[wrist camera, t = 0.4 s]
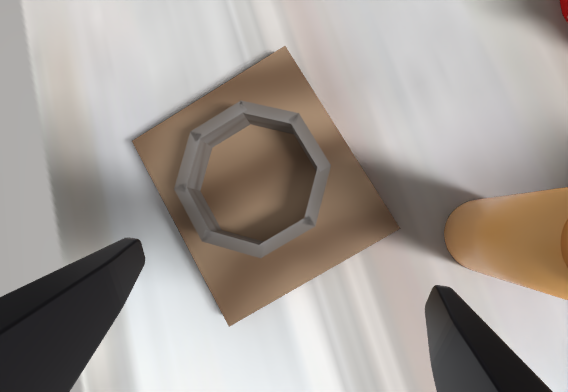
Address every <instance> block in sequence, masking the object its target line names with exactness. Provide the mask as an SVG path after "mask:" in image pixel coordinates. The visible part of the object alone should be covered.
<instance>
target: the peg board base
mask: <svg viewBox="0 0 568 392" xmlns="http://www.w3.org/2000/svg"><path fill="white" fill-rule="evenodd" d="M132 142H133V144H134V146H135V148H136V150H137V152H138V154H139V156H140V157H141V159H142V161H143V163H144V165H145V167H146V169H147V171H148V173H149V175H150V177H151V178H152V180H153V182H154V184H155V186H156V188H157V190H158V192H159V194H160V196H161V198H162V199H163V201H164V203H165V205H166V207H167V209H168V211H169V213H170V215H171V217H172V219H173V221H174V222H175V224H176V226H177V228H178V230H179V232H180V234H181V236H182V238H183V240H184V242H185V243H186V245H187V247H188V249H189V251H190V253H191V255H192V257H193V259H194V261H195V263H196V264H197V266H198V268H199V270H200V272H201V274H202V276H203V278H204V280H205V282H206V284H207V285H208V287H209V289H210V291H211V293H212V295H213V297H214V299H215V301H216V303H217V305H218V306H219V308H220V310H221V312H222V314H223V316H224V318H225V320H226V322H227V324H228V326H231V325H233V324H235V323H236V322H238V321H240V320H242V319H243V318H245V317H247V316H248V315H250V314H252V313H254V312H255V311H257V310H259V309H261V308H262V307H264V306H266V305H268V304H269V303H271V302H273V301H275V300H276V299H278V298H280V297H282V296H283V295H285V294H287V293H289V292H290V291H292V290H294V289H296V288H297V287H299V286H301V285H303V284H304V283H306V282H308V281H310V280H311V279H313V278H315V277H317V276H318V275H320V274H322V273H324V272H325V271H327V270H329V269H331V268H332V267H334V266H336V265H338V264H339V263H341V262H343V261H345V260H346V259H348V258H350V257H352V256H353V255H355V254H357V253H359V252H360V251H362V250H364V249H366V248H367V247H369V246H371V245H372V244H374V243H376V242H378V241H379V240H381V239H383V238H385V237H386V236H388V235H390V234H392V233H393V232H395V231H397V230H399V229H400V227H399V226H398V224H397V223H396V221H395V220H394V218H393V216H392V215H391V213H390V212H389V210H388V208H387V207H386V205H385V204H384V202H383V200H382V199H381V197H380V196H379V194H378V193H377V191H376V189H375V188H374V186H373V185H372V183H371V181H370V180H369V178H368V177H367V175H366V173H365V172H364V170H363V169H362V167H361V166H360V164H359V162H358V161H357V159H356V158H355V156H354V154H353V153H352V151H351V150H350V148H349V146H348V145H347V143H346V142H345V140H344V139H343V137H342V135H341V134H340V132H339V131H338V129H337V127H336V126H335V124H334V123H333V121H332V119H331V118H330V116H329V115H328V113H327V112H326V110H325V108H324V107H323V105H322V104H321V102H320V100H319V99H318V97H317V96H316V94H315V93H314V91H313V89H312V88H311V86H310V85H309V83H308V81H307V80H306V78H305V77H304V75H303V73H302V72H301V70H300V69H299V67H298V66H297V64H296V62H295V61H294V59H293V58H292V56H291V54H290V53H289V51H288V50H287V48H286V46H284V47H282V48H281V49H279V50H277V51H276V52H274V53H273V54H271V55H269V56H268V57H266V58H265V59H263V60H261V61H260V62H258V63H257V64H255V65H253V66H252V67H250V68H249V69H247V70H245V71H244V72H242V73H241V74H239V75H237V76H236V77H234V78H232V79H231V80H229V81H228V82H226V83H224V84H223V85H221V86H220V87H218V88H216V89H215V90H213V91H212V92H210V93H208V94H207V95H205V96H204V97H202V98H200V99H199V100H197V101H196V102H194V103H192V104H191V105H189V106H187V107H186V108H184V109H183V110H181V111H179V112H178V113H176V114H175V115H173V116H171V117H170V118H168V119H167V120H165V121H163V122H162V123H160V124H159V125H157V126H155V127H154V128H152V129H151V130H149V131H147V132H146V133H144V134H142V135H141V136H139V137H138V138H136V139H134V140H133V141H132Z"/></svg>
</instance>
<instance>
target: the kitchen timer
mask: <svg viewBox="0 0 568 392" xmlns="http://www.w3.org/2000/svg"><path fill="white" fill-rule="evenodd" d="M560 5H561V9H562V14H563V16H564V18H565V19H566V21H567V23H568V0H560Z"/></svg>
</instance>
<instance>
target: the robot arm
mask: <svg viewBox="0 0 568 392" xmlns="http://www.w3.org/2000/svg"><path fill="white" fill-rule="evenodd" d="M144 264H145V256H144V252H143V248H142V244H141V241H140V240H139V239H135V238H124V239H122V240H120V241H118V242H115V243H113V244H111V245H109V246H107V247H105V248H103V249H101V250H99V251H97V252H94V253H92V254H90V255H88V256H86V257H84V258H82V259H80V260H78V261H75V262H73V263H71V264H69V265H67V266H65V267H63V268H61V269H59V270H57V271H54V272H53V273H50V274H48V275H46V276H44V277H42V278H40V279H38V280H35V281H33V282H31V283H29V284H27V285H25V286H23V287H21V288H19V289H17V290H15V291H12V292H10V293H8V294H6V295H4V296H2V297H0V392H70V390H71V389H72V387H73V385H74V384H75V382H76V381H77V379H78V378H79V376H80V374H81V373H82V371H83V370H84V368H85V367H86V365H87V363H88V362H89V360H90V359H91V357H92V355H93V354H94V352H95V351H96V349H97V348H98V346H99V344H100V343H101V341H102V340H103V338H104V337H105V335H106V333H107V332H108V330H109V329H110V327H111V325H112V324H113V322H114V321H115V319H116V318H117V316H118V314H119V313H120V311H121V309H122V308H123V306H124V304H125V302H126V300H127V298H128V296H129V294H130V292H131V290H132V288H133V286H134V284H135V282H136V280H137V278H138V276H139V274H140V272H141V270H142V268H143V266H144ZM425 317H426V326H427V335H428V344H429V353H430V361H431V367H432V372H433V377H434V381H435V386H436V390H437V392H552V391H551V390H550V389H549V387H548V386H547V385H546V384H545V383H544V382H543V381H542V380H541V379H540V378H539V377H538V376H537V375H536V374H535V373H534V372H533V371H532V370H531V369H530V368H529V367H528V366H527V365H526V364H525V363H524V362H523V361H522V360H521V359H520V358H519V357H518V356H517V355H516V354H515V353H514V352H513V351H512V350H511V349H510V348H509V347H508V346H507V344H506V343H505V342H504V341H503V340H502V339H501V338H500V337H499V336H498V335H497V334H496V333H495V332H494V331H493V330H492V329H491V328H490V327H489V326H488V325H487V324H486V323H485V322H484V321H483V320H482V319H481V318H480V317H479V316H478V315H477V314H476V313H475V312H474V311H473V310H472V309H471V308H470V307H469V306H468V305H467V304H466V302H465V301H464V300H463V299H462V298H461V297H460V296H459V295H458V294H457V293H456V292H455V291H454V290H453V289H452V288H450V287H447V286H440V285H435V286H434V287H433V288H432V290H431V293H430V295H429V297H428V300H427V302H426V305H425Z"/></svg>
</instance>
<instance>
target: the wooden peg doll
mask: <svg viewBox="0 0 568 392" xmlns="http://www.w3.org/2000/svg"><path fill="white" fill-rule="evenodd" d="M444 238H445V243H446V246H447V249H448V251H449V252H450V254H451V255H452V257H453V258H454V259H455V260H456V261H457V262H458V263H459V264H461V265H462V266H464V267H466V268H468V269H470V270H473V271H476V272H480V273H483V274H486V275H489V276H492V277H496V278H499V279H502V280H505V281H508V282H511V283H515V284H518V285H521V286H524V287H527V288H530V289H534V290H537V291H540V292H543V293H546V294H550V295H553V296H556V297H559V298H562V299H565V300H568V187H565V188H558V189H550V190H543V191H536V192H529V193H521V194H514V195H507V196H500V197H492V198H485V199H478V200H472V201H468V202H466V203H463V204H461V205H460V206H458V207H457V208H456V209H455V210H454V211H453V212H452V213H451V214H450V216H449V217H448V220H447V222H446V225H445V230H444Z"/></svg>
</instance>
